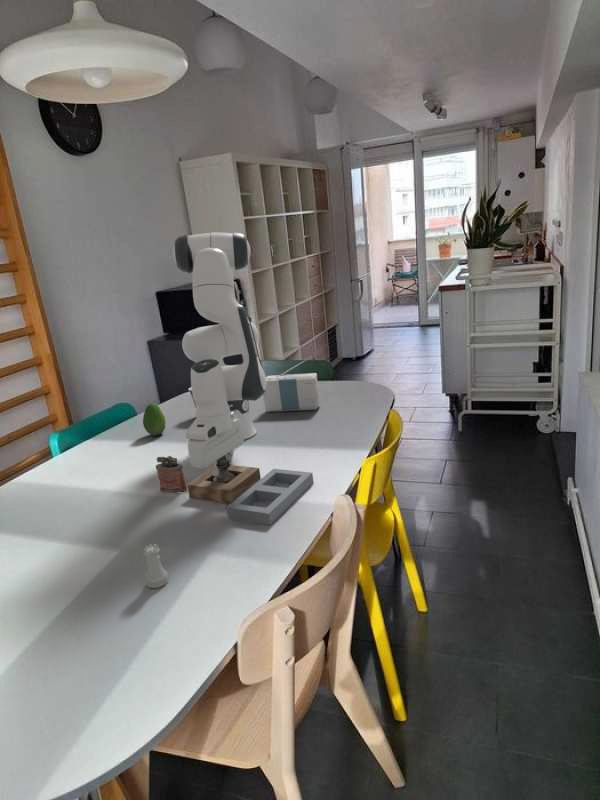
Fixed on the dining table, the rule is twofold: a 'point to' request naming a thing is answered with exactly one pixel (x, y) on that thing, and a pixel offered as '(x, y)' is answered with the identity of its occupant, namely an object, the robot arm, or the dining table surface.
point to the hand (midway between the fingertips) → (222, 470)
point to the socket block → (223, 485)
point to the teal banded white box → (291, 392)
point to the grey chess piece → (223, 471)
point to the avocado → (154, 420)
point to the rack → (270, 496)
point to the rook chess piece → (154, 568)
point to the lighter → (170, 475)
